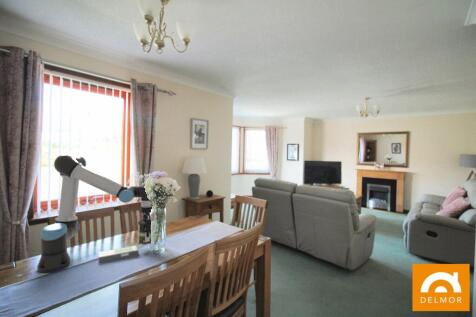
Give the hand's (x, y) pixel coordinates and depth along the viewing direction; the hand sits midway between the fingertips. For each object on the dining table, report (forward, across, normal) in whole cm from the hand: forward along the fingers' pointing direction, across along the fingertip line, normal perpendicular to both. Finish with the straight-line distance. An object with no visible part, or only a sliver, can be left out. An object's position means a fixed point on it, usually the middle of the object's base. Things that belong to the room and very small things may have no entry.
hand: (145, 238), depth 161 cm
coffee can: (+3, 0, 0) cm, 3 cm away
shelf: (+8, 0, +16) cm, 18 cm away
